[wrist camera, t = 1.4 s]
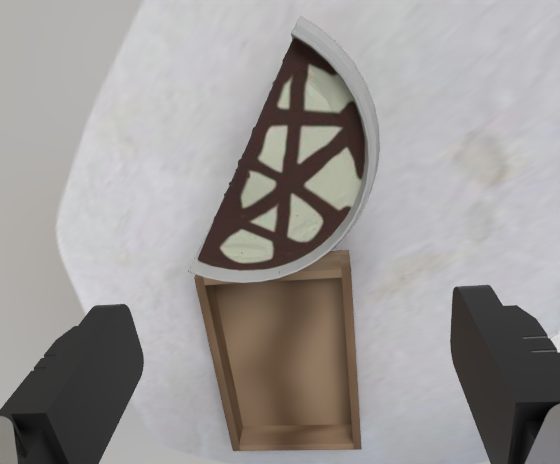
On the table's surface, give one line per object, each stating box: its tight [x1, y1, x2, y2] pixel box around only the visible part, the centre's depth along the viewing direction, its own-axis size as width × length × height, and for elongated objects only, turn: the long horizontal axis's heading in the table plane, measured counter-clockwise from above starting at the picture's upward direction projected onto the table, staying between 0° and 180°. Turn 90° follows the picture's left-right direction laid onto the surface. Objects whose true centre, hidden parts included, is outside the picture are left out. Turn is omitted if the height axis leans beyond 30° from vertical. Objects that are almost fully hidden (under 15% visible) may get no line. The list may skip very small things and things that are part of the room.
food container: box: [188, 16, 380, 283], centre depth 24 cm, size 12×6×10 cm, turn 155°
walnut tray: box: [194, 250, 361, 451], centre depth 34 cm, size 10×16×2 cm, turn 7°
